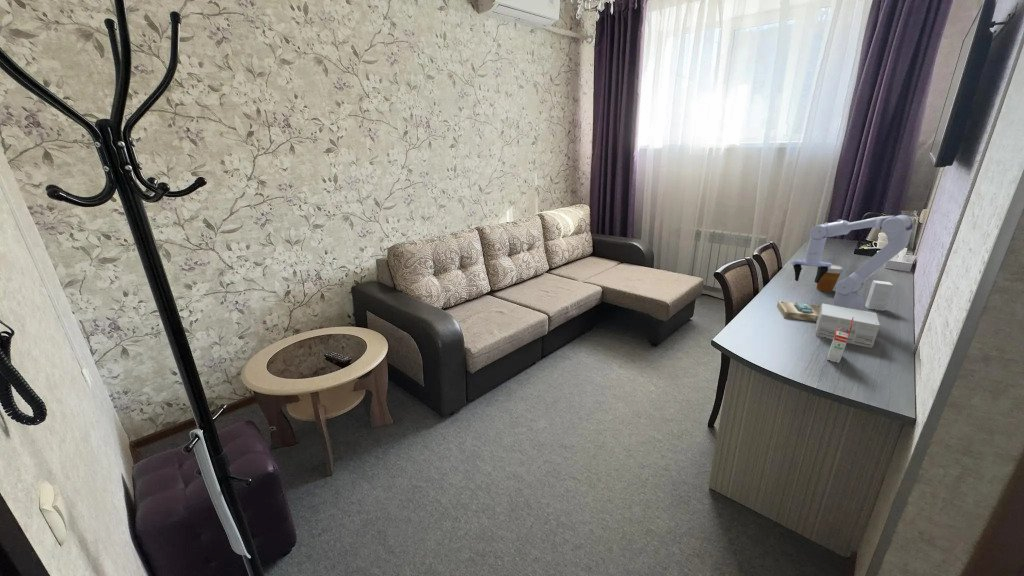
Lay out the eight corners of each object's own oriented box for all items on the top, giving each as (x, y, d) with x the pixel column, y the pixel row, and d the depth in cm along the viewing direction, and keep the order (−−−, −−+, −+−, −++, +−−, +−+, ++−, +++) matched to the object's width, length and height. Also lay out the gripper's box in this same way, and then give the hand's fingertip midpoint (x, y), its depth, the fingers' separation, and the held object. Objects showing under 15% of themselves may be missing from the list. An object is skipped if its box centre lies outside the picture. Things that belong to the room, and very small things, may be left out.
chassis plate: (819, 311, 177) (820, 305, 176) (829, 323, 166) (831, 316, 165) (776, 306, 181) (778, 300, 180) (783, 317, 171) (785, 311, 170)
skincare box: (881, 307, 181) (890, 282, 176) (884, 311, 177) (894, 285, 173) (864, 305, 183) (872, 279, 179) (867, 308, 179) (875, 283, 175)
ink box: (826, 360, 139) (838, 321, 134) (828, 351, 145) (840, 313, 140) (839, 363, 137) (853, 324, 132) (841, 354, 143) (854, 316, 138)
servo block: (804, 310, 177) (806, 300, 176) (810, 319, 169) (813, 308, 167) (793, 309, 179) (796, 298, 177) (799, 317, 170) (802, 307, 169)
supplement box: (869, 334, 157) (877, 312, 154) (872, 349, 147) (880, 325, 144) (815, 323, 166) (821, 302, 163) (814, 336, 156) (821, 313, 153)
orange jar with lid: (815, 291, 198) (822, 267, 194) (810, 285, 206) (816, 262, 202) (839, 294, 195) (846, 270, 191) (833, 287, 203) (840, 264, 199)
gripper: (830, 251, 181) (822, 280, 185) (792, 248, 185) (785, 276, 190) (836, 255, 174) (827, 285, 179) (797, 252, 179) (789, 281, 184)
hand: (806, 281), depth 184 cm, fingers open, 7 cm apart
